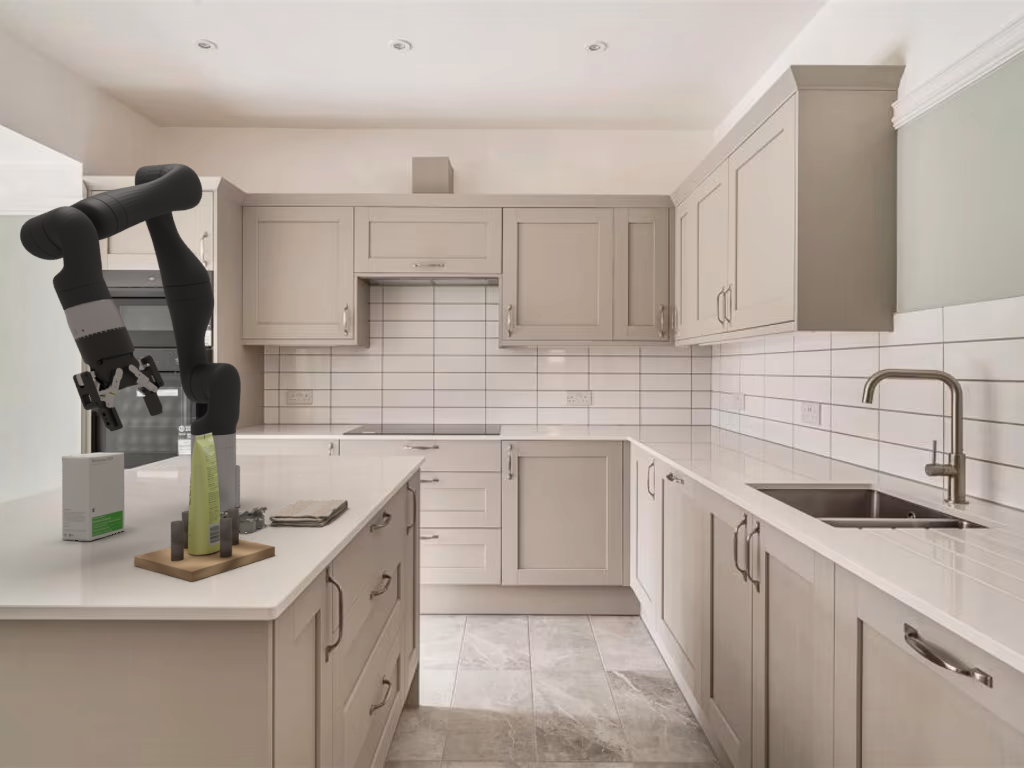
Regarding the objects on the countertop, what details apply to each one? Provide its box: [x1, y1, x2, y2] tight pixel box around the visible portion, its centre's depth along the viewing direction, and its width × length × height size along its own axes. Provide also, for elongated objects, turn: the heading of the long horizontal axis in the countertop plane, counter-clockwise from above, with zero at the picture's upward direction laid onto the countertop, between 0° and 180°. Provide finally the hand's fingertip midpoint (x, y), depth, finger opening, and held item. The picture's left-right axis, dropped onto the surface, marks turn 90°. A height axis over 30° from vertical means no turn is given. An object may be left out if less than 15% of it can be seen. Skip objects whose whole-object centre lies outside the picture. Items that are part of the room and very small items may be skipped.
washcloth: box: [269, 499, 349, 528], centre depth 131 cm, size 12×18×3 cm, turn 0°
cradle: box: [133, 507, 276, 582], centre depth 100 cm, size 15×15×8 cm
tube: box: [188, 433, 220, 555], centre depth 100 cm, size 6×5×20 cm
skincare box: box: [61, 451, 126, 542], centre depth 115 cm, size 8×7×16 cm
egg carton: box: [220, 506, 268, 534], centre depth 121 cm, size 11×8×4 cm
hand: (137, 421), depth 104 cm, fingers open, 8 cm apart
